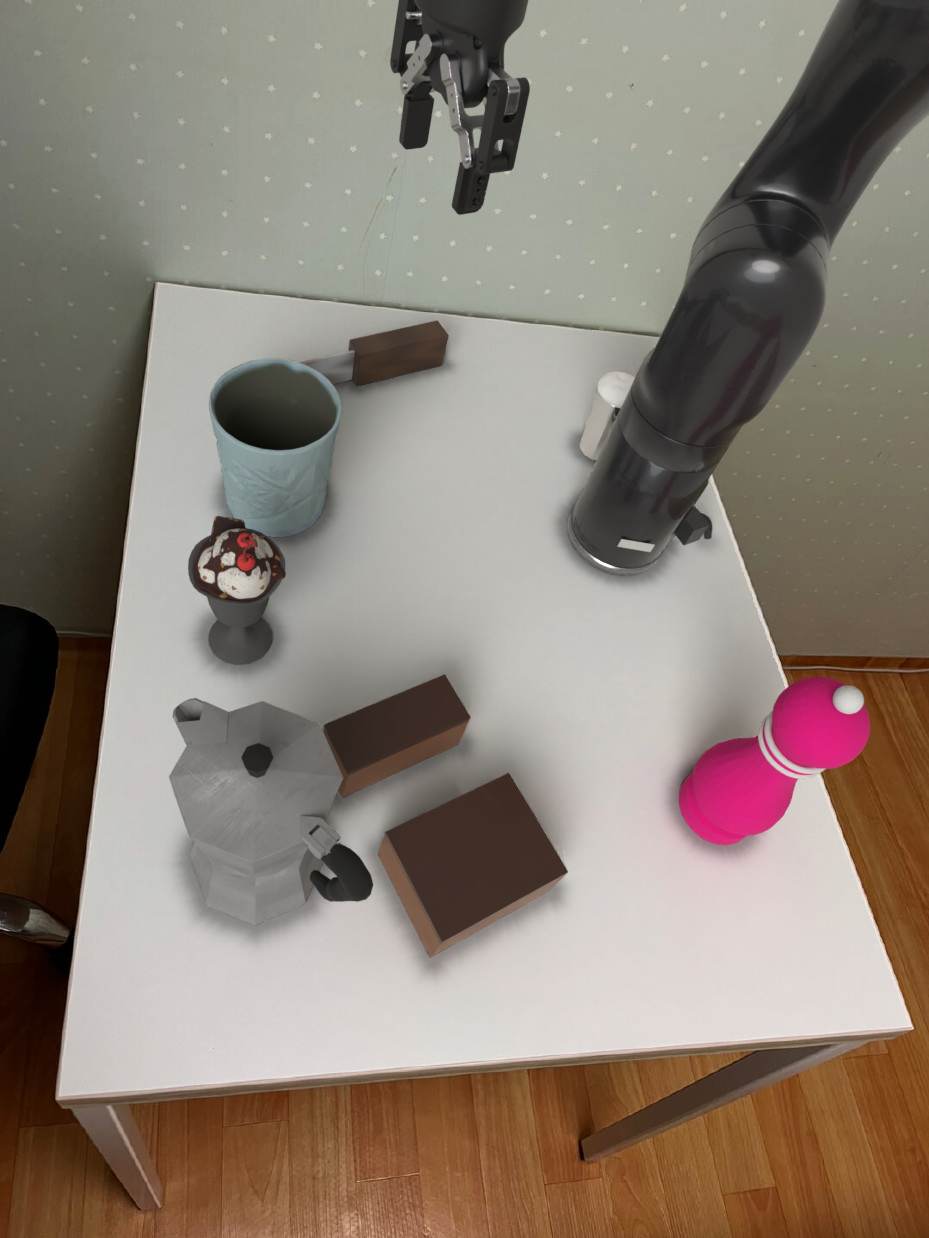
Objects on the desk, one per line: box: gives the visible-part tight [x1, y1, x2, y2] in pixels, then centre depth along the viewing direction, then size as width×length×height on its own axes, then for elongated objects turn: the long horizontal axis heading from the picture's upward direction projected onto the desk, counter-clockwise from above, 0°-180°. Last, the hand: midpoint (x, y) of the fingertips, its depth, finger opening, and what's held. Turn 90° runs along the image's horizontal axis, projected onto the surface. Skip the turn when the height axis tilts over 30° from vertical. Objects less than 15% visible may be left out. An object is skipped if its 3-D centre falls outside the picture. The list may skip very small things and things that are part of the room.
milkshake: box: [578, 371, 635, 461], centre depth 84 cm, size 4×5×10 cm
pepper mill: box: [678, 676, 871, 846], centre depth 61 cm, size 7×7×20 cm
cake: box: [377, 772, 569, 959], centre depth 61 cm, size 10×8×5 cm
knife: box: [297, 319, 450, 387], centre depth 85 cm, size 21×2×4 cm, turn 120°
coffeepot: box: [168, 697, 374, 926], centre depth 53 cm, size 15×9×18 cm, turn 49°
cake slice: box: [322, 673, 471, 798], centre depth 65 cm, size 10×4×5 cm, turn 120°
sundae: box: [187, 515, 287, 666], centre depth 63 cm, size 7×7×15 cm
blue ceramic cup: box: [208, 357, 343, 538], centre depth 72 cm, size 10×10×12 cm
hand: (438, 177), depth 66 cm, fingers open, 8 cm apart
